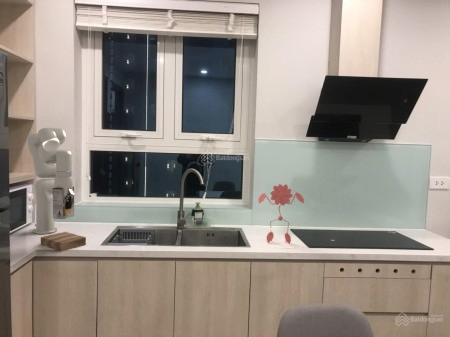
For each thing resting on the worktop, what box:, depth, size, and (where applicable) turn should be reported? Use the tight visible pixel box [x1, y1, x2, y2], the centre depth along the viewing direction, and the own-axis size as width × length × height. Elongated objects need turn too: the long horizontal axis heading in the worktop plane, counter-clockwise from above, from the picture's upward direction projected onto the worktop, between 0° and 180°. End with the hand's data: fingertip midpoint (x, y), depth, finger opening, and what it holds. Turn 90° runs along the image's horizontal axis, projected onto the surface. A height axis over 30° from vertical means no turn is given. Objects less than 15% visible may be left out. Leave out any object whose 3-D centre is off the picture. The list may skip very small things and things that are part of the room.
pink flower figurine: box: [257, 183, 305, 245], centre depth 195 cm, size 15×26×35 cm, turn 85°
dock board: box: [40, 231, 87, 252], centre depth 182 cm, size 18×14×4 cm
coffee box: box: [52, 186, 75, 220], centre depth 180 cm, size 9×6×16 cm
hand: (63, 207), depth 180 cm, fingers closed on coffee box, 7 cm apart
